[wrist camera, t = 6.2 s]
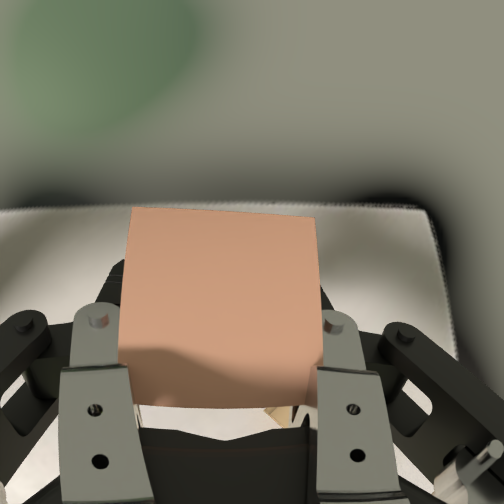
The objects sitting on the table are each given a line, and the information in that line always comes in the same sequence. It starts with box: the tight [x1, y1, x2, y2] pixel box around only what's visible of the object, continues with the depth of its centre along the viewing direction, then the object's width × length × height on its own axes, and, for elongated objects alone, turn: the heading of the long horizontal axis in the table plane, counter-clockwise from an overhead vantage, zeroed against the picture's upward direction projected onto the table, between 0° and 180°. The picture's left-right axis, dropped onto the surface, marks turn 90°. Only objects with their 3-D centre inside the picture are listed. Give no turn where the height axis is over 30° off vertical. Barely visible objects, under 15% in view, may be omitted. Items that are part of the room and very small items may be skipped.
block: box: [118, 207, 324, 409], centre depth 10 cm, size 4×4×9 cm
